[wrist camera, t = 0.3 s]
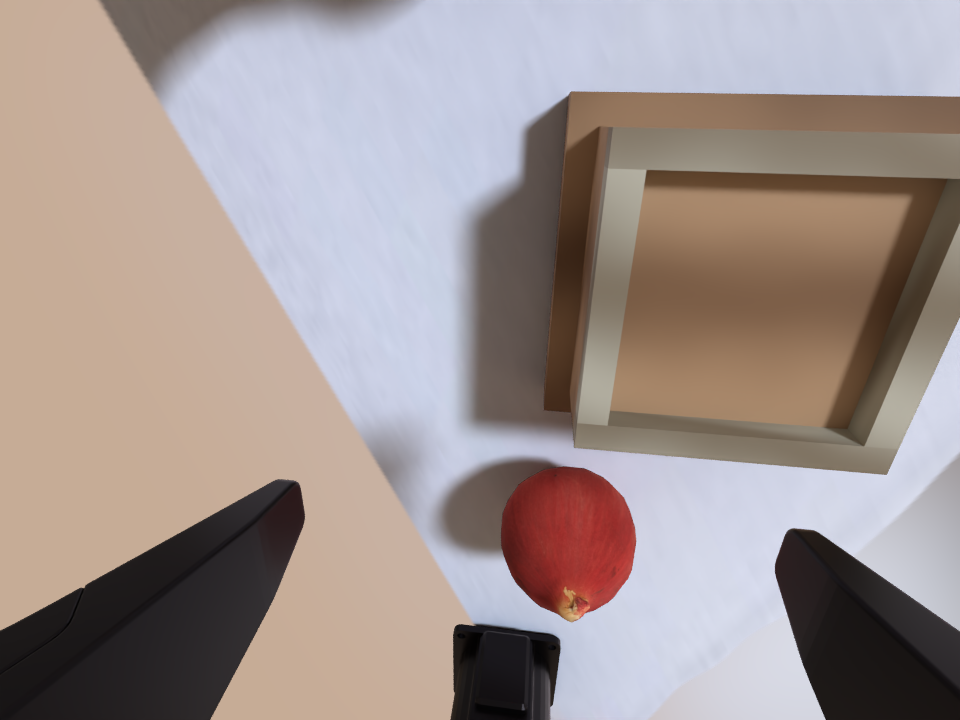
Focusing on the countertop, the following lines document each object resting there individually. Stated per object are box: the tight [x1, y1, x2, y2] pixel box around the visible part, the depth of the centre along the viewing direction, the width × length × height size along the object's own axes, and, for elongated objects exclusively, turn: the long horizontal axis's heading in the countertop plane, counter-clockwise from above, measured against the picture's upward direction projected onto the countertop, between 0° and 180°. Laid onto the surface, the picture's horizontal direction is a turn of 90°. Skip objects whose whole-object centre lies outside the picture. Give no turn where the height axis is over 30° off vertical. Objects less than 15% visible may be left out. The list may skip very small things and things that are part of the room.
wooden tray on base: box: [544, 92, 960, 475], centre depth 17 cm, size 12×12×6 cm
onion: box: [501, 467, 636, 622], centre depth 22 cm, size 6×6×8 cm
